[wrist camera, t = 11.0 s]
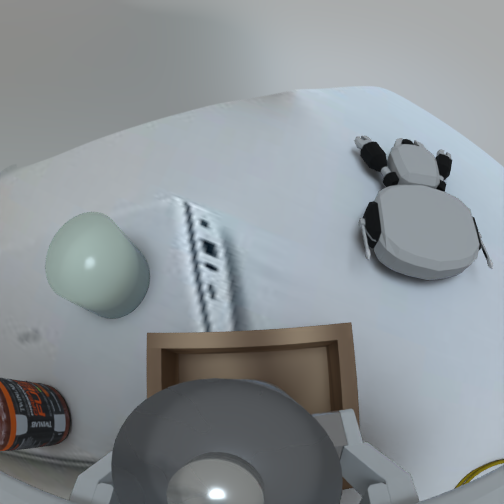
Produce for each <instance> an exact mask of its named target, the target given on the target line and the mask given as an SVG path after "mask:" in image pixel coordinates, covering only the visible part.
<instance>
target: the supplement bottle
mask: <svg viewBox="0 0 504 504" xmlns="http://www.w3.org/2000/svg"><path fill="white" fill-rule="evenodd" d="M69 426H70V417H69V412H68V408H67V406H66V403H65V401H64V399H63V398H62V396H61V395H60V394H59V392H58V391H56V390H55V389H54V388H52V387H50V386H48V385H45V384H41V383H33V382H27V381H26V382H25V381H18V380H12V379H5V378H0V451H9V450H18V449H28V448H36V447H43V446H51V445H55V444H58V443H60V442H62V441H63V440H64V439H65V438H66V436H67V434H68V431H69Z"/></svg>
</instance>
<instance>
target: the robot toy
mask: <svg viewBox="0 0 504 504" xmlns="http://www.w3.org/2000/svg"><path fill="white" fill-rule="evenodd" d="M354 141H355V144H356V146H357V148H359V149H361V155H360V156H361V157H362V158H363V160H364V161H365V162H366V164H367V165H368V167H369V168H371V169H374V170H376V171H379V172H381V173H382V175H383V176H384V179H383V183H384V185H385V186H386V188H384V189H382V190H381V191H379V192H378V194H377V196H376V199H375V201H373V202H369V204H368V206H367V209H366V211H365V213H364V216H363V218H360V220H359V227H360V228H361V229H362V235H363V240H364V246H365V256H366V258H367V259H368V260H369V258H370V255H371V254H370V250H369V247H371V248H373V249H374V253H375V254H376V256H377V258H378V260H379V261H380V262H382V263H383V264H384V265H386V266H387V267H388V268H390V269H392V270H394V271H396V272H399V273H402V274H404V275H407V276H412V277H416V278H421V279H425V280H435V279H443V278H449V277H452V276H456V275H458V274H460V273H461V272H463V271H464V270H465V269H466V268H467V267H468V266H469V265H471V264H472V263H473V262H474V261H475V260H476V259H477V256H478V251H479V250H480V249H481V248H482V250H483V253H484V255H485V257H486V260H487V264H488V266H489V268H491V269H492V268H493V263H492V261H491V260H490V258H489V256H488V253H487V251H486V249H485V247H484V244H483V242H482V240H481V234H480V232H478V228H477V225H476V222H475V219H474V217H472V214H471V211H470V209H469V208H468V207H467V206H466V205H465V204H464V203H463V202H462V201H460V200H459V199H458V198H456V197H454V196H452V195H450V194H448V193H446V192H445V187H446V183H445V182H444V180H445V179H446V178H447V177H448V176H449V175H450V171H451V164H452V160H451V155H450V154H449V153H447V152H446V154H444V150H442V149H440V150H439V151H438V152H437V157H436V159H435V157H434V155H433V154H432V153H430V152H429V151H428V150H426V148H425V147H424V146H423V144H421V143H419V142H417V141H416V140H415V141H414V144H413V142H412V141H410V140H408V139H403V140H402V138H400V139H396V142H395V144H394V147H393V148H392V149H391V152H390V155H389V157H388V160H387V159H386V154H385V152H384V151H383V150H382V149H381V147H380V146H379V145H378V144H377V142H371V139H370V138H369V137H367V136H361V138H360V137H356V139H355V140H354ZM368 246H369V247H368Z"/></svg>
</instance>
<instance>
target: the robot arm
mask: <svg viewBox="0 0 504 504" xmlns="http://www.w3.org/2000/svg"><path fill="white" fill-rule="evenodd" d="M312 416H313V417H314V418H315V419H316V420H317V421H318V422H319V423H320V425H321V426H322V427H323V428H324V429H325V431H326V432H327V434H328V436H329V437H330V439H331V440H332V442H333V444H334V446H335V449H336V451H337V453H338V456H339V460H340V464H341V468H342V477H343V478H344V479H345V480H346V481H347V482H348V483H349V484H350V485H351V486H352V487H353V488H354V489H355V490H356V491H357V492H358V493H359V494H360V495H361V496H362V497H363V498H362V500H361V501H360V503H359V504H504V465H502V466H501V467H499V468H497V469H495V470H493V471H491V472H489V473H487V474H485V475H483V476H481V477H479V478H477V479H475V480H473V481H471V482H469V483H467V484H464V485H462V486H460V487H457V488H455V489H453V490H450V491H448V492H445V493H443V494H440V495H438V496H435V497H432V498H430V499H427V500H424V501H421V502H419V499H418V495H417V492H416V489H415V486H414V483H413V480H412V477H411V474H410V473H408V472H407V471H405V470H404V469H403V468H401V467H400V466H398V465H397V464H396V463H394V462H393V461H392V460H390V459H389V458H388V457H386V456H385V455H384V454H382V453H381V452H380V451H378V450H377V449H376V448H374V447H373V446H372V445H370V444H369V443H368V442H364V443H363V440H362V437H361V433H360V430H359V426H358V423H357V420H356V416H355V413H354V410H353V409H346V410H339V411H338V410H337V411H330V412H323V413H316V414H312ZM112 452H113V450H112V451H111V452H110V453H108V454H107V455H106V456H104V457H103V458H102V459H100V460H99V461H98V462H96V463H95V464H94V465H92V466H91V467H89V468H88V469H87V470H85V471H84V472H83V473H81V474H80V475H78V478H77V481H76V483H75V486H74V488H73V491H72V494H71V496H70V499H69V500H66V499H63V498H61V497H58V496H55V495H53V494H50V493H48V492H45V491H43V490H40V489H38V488H36V487H33V486H31V485H29V484H27V483H24V482H22V481H20V480H18V479H16V478H14V477H12V476H10V475H8V474H6V473H4V472H2V471H0V504H120V503H119V501H118V498H117V495H116V492H115V489H114V485H113V480H112V470H111V461H112Z"/></svg>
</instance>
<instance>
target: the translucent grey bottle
mask: <svg viewBox="0 0 504 504" xmlns="http://www.w3.org/2000/svg"><path fill="white" fill-rule="evenodd" d="M111 470H112V480H113V485H114V489H115V492H116V495H117V498H118V501H119V503H120V504H339V503H340V499H341V495H342V484H343V479H342V468H341V464H340V460H339V456H338V453H337V451H336V449H335V446H334V444H333V442H332V440H331V439H330V437H329V436H328V434H327V432H326V431H325V429H324V428H323V427H322V426H321V425H320V423H319V422H318V421H317V420H316V419H315V418H314V417H313V416H312V415H311V414H310V413H309V412H308V411H306V410H305V409H304V408H303V407H302V406H301V405H300V404H298V403H297V402H296V401H295V400H294V399H293V398H291V397H290V396H289V395H288V394H287V393H286V392H285V391H283V390H282V389H281V388H279V387H278V386H276V385H274V384H272V383H269V382H266V381H262V380H247V379H219V378H211V379H198V380H193V381H187V382H183V383H180V384H176V385H173V386H170V387H168V388H166V389H164V390H161V391H159V392H157V393H156V394H154V395H152V396H151V397H149V398H148V399H146V400H145V401H144V402H143V403H141V404H140V405H139V406H138V407H137V408H136V409H135V410H134V411H133V412H132V413H131V414H130V415H129V417H128V418H127V419H126V421H125V422H124V424H123V425H122V427H121V429H120V431H119V433H118V436H117V438H116V440H115V444H114V448H113V452H112V461H111Z"/></svg>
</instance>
